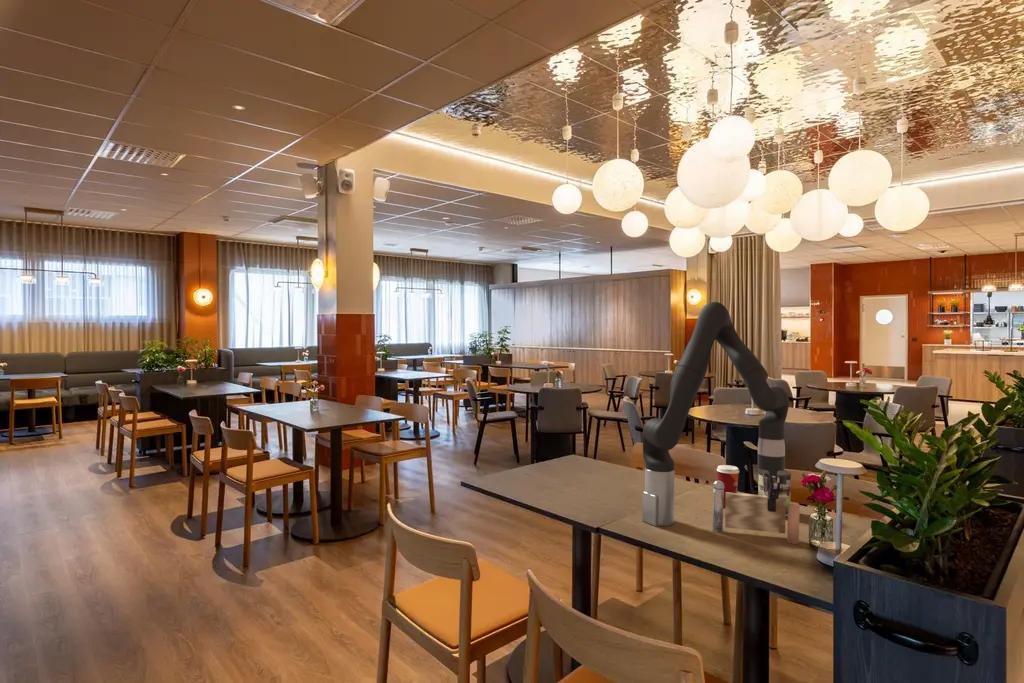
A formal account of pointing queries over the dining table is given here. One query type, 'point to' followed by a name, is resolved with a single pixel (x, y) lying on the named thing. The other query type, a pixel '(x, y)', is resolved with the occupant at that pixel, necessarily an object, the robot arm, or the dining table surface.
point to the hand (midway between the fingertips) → (770, 509)
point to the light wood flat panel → (754, 513)
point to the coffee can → (784, 485)
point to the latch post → (793, 523)
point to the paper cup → (728, 479)
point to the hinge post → (718, 506)
